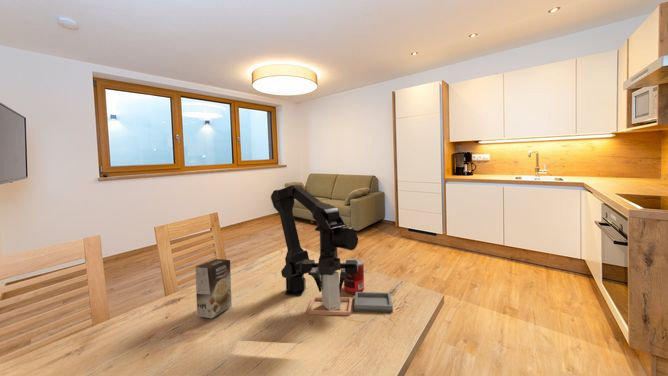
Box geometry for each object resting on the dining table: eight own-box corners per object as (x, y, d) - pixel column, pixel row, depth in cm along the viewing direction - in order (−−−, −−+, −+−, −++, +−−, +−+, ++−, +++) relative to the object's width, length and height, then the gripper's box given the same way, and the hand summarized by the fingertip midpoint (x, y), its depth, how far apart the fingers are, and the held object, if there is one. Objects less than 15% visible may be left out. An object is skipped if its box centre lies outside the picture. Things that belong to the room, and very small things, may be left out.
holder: (306, 314, 86) (306, 310, 86) (313, 299, 97) (313, 296, 97) (350, 315, 85) (350, 312, 85) (352, 300, 95) (352, 297, 95)
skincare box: (341, 309, 89) (340, 272, 88) (328, 312, 87) (327, 274, 87) (332, 301, 94) (331, 267, 94) (321, 304, 92) (319, 269, 92)
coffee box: (212, 319, 85) (210, 268, 84) (196, 316, 87) (194, 266, 87) (232, 305, 94) (230, 259, 93) (217, 303, 96) (215, 258, 95)
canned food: (364, 285, 107) (363, 258, 107) (364, 294, 99) (363, 264, 99) (344, 285, 108) (343, 258, 108) (343, 294, 100) (342, 264, 100)
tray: (354, 311, 87) (354, 304, 87) (355, 297, 97) (355, 291, 97) (392, 312, 86) (392, 305, 86) (390, 298, 96) (389, 292, 96)
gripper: (294, 251, 83) (296, 302, 84) (356, 252, 81) (357, 303, 81) (303, 243, 94) (304, 287, 95) (357, 243, 92) (358, 288, 92)
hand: (330, 291), depth 91 cm, fingers closed on skincare box, 6 cm apart
